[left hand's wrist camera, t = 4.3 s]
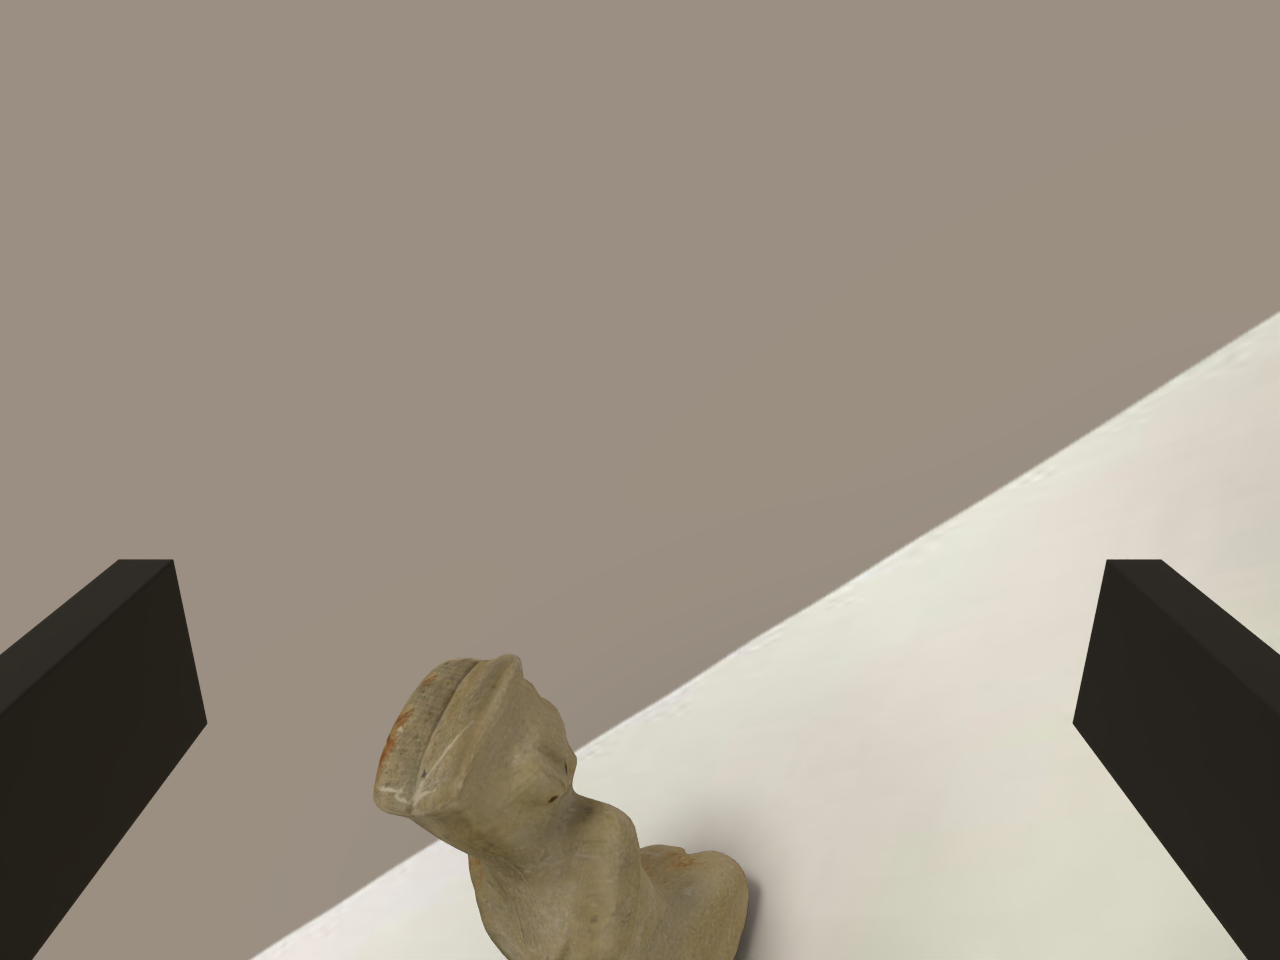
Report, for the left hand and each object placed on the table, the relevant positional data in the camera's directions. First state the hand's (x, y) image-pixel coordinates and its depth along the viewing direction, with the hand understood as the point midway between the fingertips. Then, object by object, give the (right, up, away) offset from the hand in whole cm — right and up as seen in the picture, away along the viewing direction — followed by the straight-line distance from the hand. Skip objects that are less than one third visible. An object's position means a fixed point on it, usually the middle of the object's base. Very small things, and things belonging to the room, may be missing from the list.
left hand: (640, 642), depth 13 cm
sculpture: (+2, -15, +19) cm, 24 cm away
